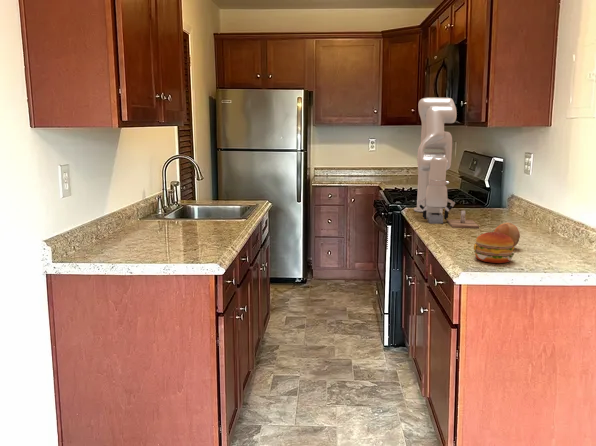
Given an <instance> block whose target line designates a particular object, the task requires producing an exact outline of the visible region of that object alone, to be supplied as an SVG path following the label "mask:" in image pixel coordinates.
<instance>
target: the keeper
mask: <svg viewBox="0 0 596 446" xmlns="http://www.w3.org/2000/svg"><path fill="white" fill-rule="evenodd" d="M446 222H447V223H448V224H449V226H450V227H451V228H453V229H454V228H455V229H457V228H460V229H480V226H479V225H478V223H476V222H475V221H474V220H473V219H466V210H461V211H460V219H451V218H450V219H448V218H447V220H446Z"/></svg>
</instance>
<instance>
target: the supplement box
mask: <svg viewBox="0 0 596 446" xmlns="http://www.w3.org/2000/svg"><path fill="white" fill-rule="evenodd" d="M443 209H444V208H440V207H428V208H427V209H426V219H427V218H428V212H431V213H442V214H443Z"/></svg>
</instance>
